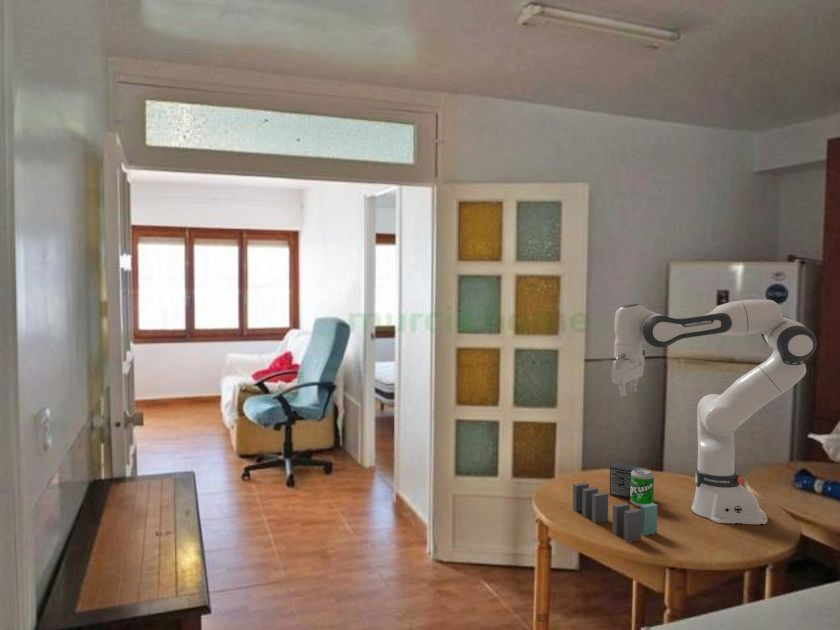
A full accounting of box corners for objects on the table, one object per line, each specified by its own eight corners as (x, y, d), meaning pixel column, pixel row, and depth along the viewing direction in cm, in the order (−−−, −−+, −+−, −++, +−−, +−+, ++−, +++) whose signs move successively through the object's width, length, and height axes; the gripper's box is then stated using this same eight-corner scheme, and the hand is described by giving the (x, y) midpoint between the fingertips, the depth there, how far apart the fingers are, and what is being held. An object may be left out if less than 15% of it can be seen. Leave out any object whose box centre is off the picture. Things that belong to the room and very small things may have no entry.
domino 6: (640, 533, 186) (640, 505, 185) (652, 531, 188) (653, 503, 187) (644, 536, 184) (644, 507, 184) (656, 533, 186) (657, 505, 186)
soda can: (631, 499, 214) (632, 466, 213) (654, 502, 211) (654, 469, 210) (628, 506, 207) (629, 472, 207) (652, 510, 204) (652, 475, 203)
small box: (643, 495, 218) (643, 466, 218) (639, 500, 213) (639, 471, 212) (613, 489, 224) (614, 462, 223) (608, 495, 218) (609, 466, 218)
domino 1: (572, 510, 205) (573, 484, 204) (585, 507, 207) (585, 482, 206) (576, 512, 203) (576, 486, 202) (588, 509, 205) (588, 484, 204)
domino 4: (612, 533, 186) (612, 505, 186) (625, 530, 188) (625, 502, 188) (616, 535, 185) (616, 507, 184) (629, 533, 187) (629, 504, 186)
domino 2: (582, 515, 200) (582, 489, 200) (594, 513, 202) (594, 487, 201) (585, 517, 198) (585, 491, 198) (597, 515, 200) (598, 488, 200)
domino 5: (623, 540, 182) (624, 511, 181) (636, 537, 184) (637, 508, 183) (627, 542, 180) (628, 513, 179) (640, 539, 182) (641, 510, 181)
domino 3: (591, 521, 196) (592, 494, 195) (604, 518, 197) (604, 492, 197) (595, 523, 194) (595, 496, 193) (607, 520, 196) (608, 493, 195)
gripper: (626, 356, 191) (626, 399, 192) (647, 349, 207) (647, 389, 207) (607, 355, 195) (606, 397, 195) (629, 348, 211) (629, 387, 211)
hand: (627, 393), depth 202 cm, fingers open, 8 cm apart
